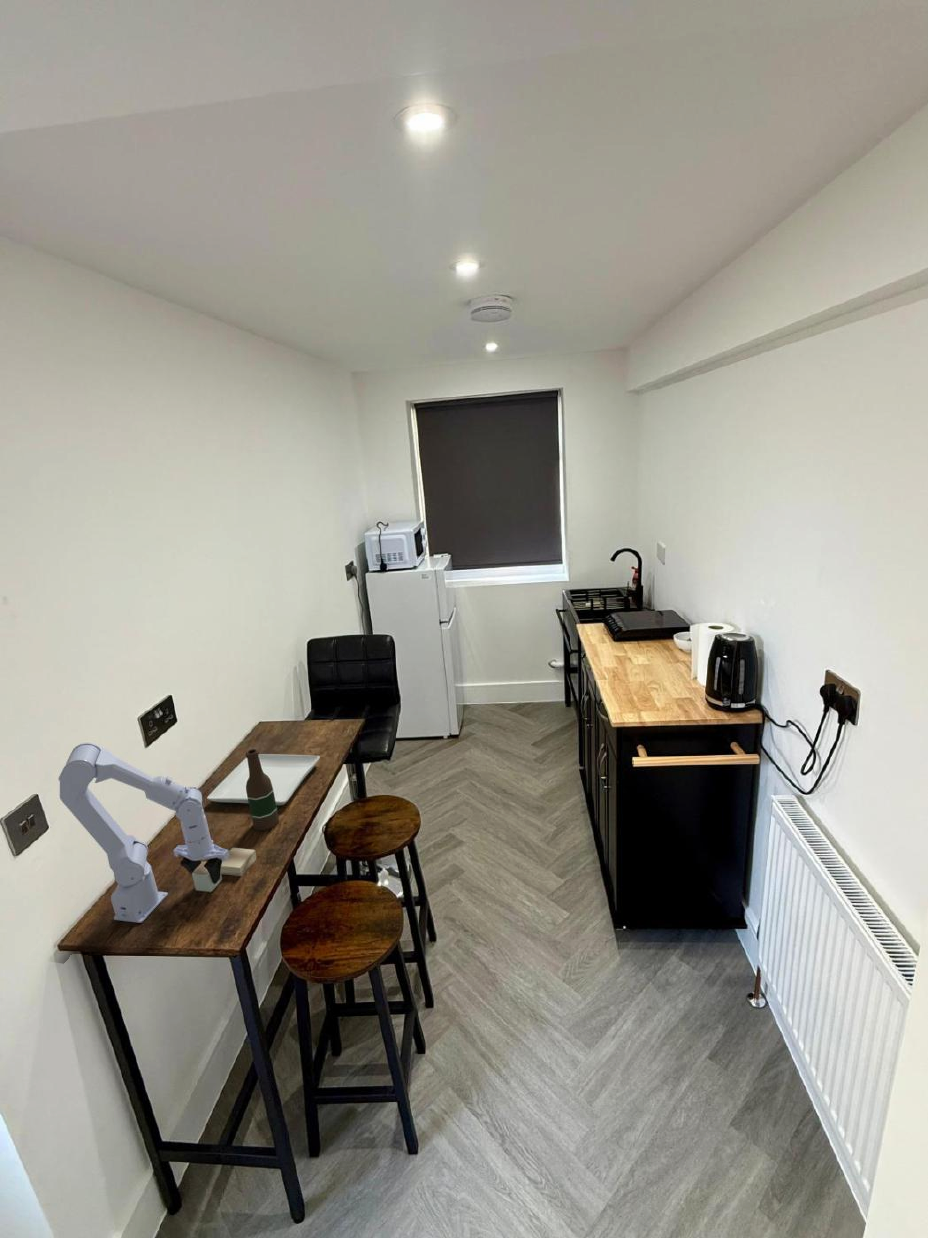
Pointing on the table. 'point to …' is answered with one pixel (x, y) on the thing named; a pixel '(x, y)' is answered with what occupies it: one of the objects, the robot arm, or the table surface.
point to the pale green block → (203, 879)
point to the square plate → (277, 767)
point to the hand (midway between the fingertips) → (208, 880)
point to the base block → (238, 861)
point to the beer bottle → (260, 794)
